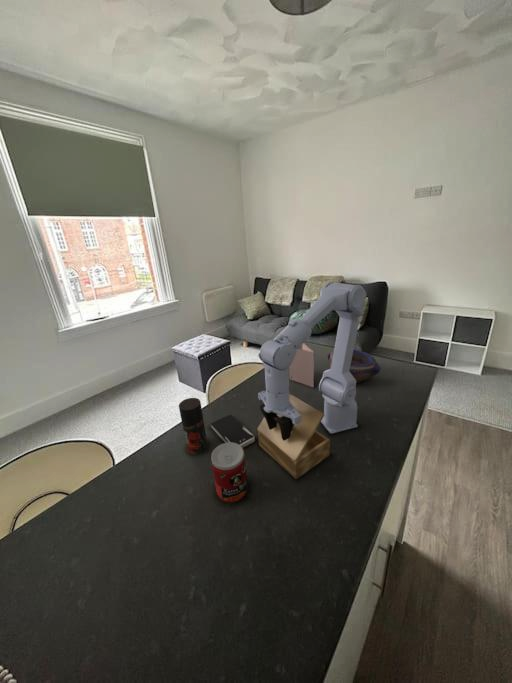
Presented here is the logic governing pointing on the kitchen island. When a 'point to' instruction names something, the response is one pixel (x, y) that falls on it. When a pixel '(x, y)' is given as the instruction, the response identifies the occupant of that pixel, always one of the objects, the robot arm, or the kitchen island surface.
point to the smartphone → (232, 431)
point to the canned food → (229, 471)
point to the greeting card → (303, 366)
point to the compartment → (308, 459)
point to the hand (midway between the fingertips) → (279, 432)
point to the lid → (294, 429)
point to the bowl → (360, 365)
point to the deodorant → (193, 425)
